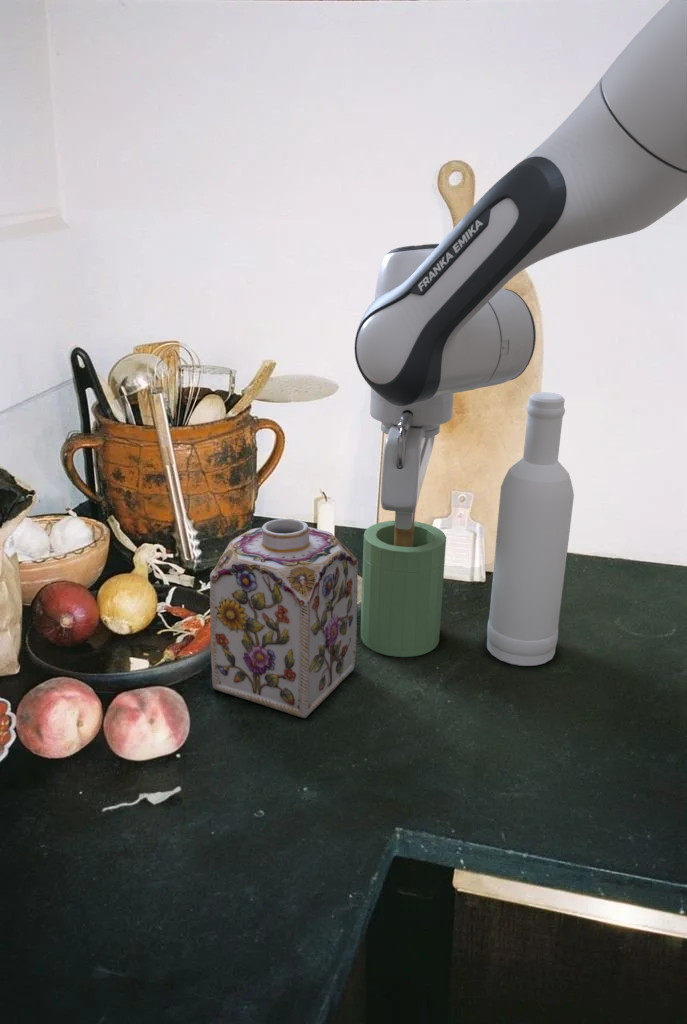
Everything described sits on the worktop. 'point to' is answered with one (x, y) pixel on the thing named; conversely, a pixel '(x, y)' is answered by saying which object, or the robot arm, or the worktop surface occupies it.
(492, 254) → the robot arm
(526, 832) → the worktop surface
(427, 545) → the green pen holder
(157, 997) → the worktop surface
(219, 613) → the decorative jar
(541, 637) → the bottle
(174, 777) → the worktop surface
